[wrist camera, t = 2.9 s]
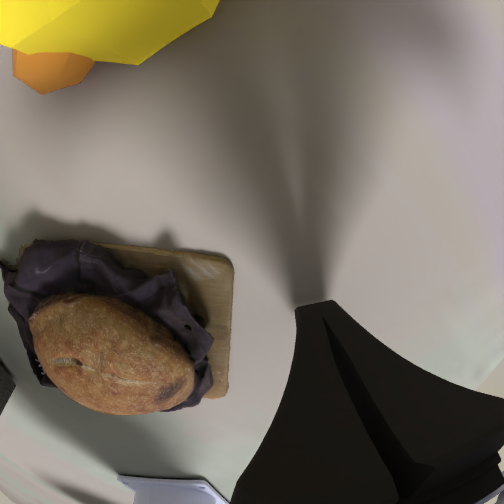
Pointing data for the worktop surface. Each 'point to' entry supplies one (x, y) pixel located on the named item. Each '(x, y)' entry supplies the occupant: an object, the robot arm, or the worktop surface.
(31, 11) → the yellow banana
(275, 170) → the worktop surface
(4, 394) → the grey angular piece
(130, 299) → the bread roll
